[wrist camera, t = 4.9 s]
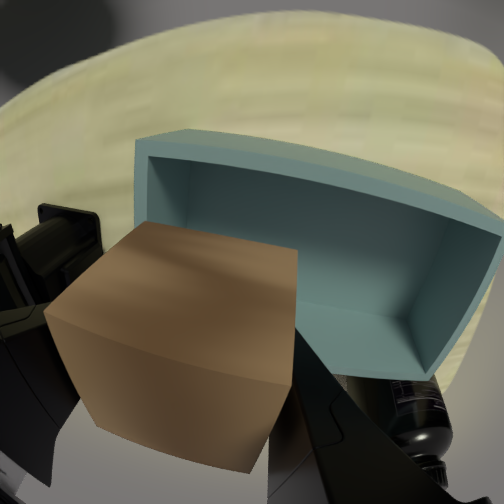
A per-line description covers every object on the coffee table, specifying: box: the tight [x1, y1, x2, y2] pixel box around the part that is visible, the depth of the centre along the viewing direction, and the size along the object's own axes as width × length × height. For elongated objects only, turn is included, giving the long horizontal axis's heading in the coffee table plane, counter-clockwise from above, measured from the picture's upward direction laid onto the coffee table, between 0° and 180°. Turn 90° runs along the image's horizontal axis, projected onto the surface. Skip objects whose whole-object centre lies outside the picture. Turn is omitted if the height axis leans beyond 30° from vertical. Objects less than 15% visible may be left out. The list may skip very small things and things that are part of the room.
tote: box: [134, 129, 504, 381], centre depth 14 cm, size 16×10×6 cm, turn 81°
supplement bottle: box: [346, 374, 453, 490], centre depth 15 cm, size 7×7×12 cm
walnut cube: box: [43, 221, 298, 474], centre depth 8 cm, size 5×5×5 cm
